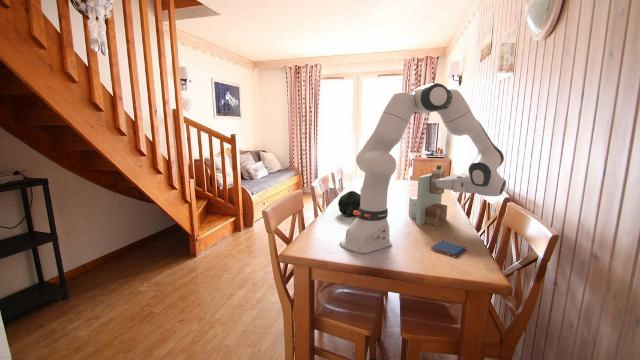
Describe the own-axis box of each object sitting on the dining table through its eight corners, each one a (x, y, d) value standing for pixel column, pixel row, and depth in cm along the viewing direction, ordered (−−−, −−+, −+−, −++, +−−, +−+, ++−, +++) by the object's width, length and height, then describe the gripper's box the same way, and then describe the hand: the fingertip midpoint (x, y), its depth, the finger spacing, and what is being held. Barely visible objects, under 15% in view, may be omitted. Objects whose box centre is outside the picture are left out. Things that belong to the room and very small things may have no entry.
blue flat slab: (441, 243, 123) (441, 239, 122) (467, 251, 115) (467, 246, 115) (428, 250, 116) (429, 245, 115) (455, 259, 108) (456, 254, 108)
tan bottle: (438, 194, 142) (440, 166, 140) (429, 193, 146) (431, 165, 143) (443, 193, 146) (445, 165, 144) (435, 191, 149) (436, 164, 147)
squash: (352, 200, 171) (342, 183, 162) (374, 205, 161) (364, 188, 152) (340, 219, 166) (328, 204, 157) (361, 226, 156) (350, 210, 146)
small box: (423, 215, 159) (424, 196, 157) (426, 218, 154) (427, 199, 152) (408, 215, 160) (409, 196, 158) (410, 218, 155) (411, 198, 153)
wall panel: (419, 225, 143) (422, 177, 139) (415, 224, 145) (418, 176, 140) (440, 215, 158) (443, 172, 153) (436, 215, 159) (439, 171, 155)
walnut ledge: (435, 225, 142) (436, 210, 141) (424, 223, 146) (425, 207, 145) (446, 220, 150) (447, 205, 149) (435, 217, 154) (436, 203, 153)
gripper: (474, 173, 142) (445, 170, 152) (456, 178, 128) (426, 175, 138) (472, 186, 143) (444, 182, 153) (455, 193, 129) (425, 188, 139)
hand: (435, 179), depth 145 cm, fingers closed on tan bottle, 6 cm apart
